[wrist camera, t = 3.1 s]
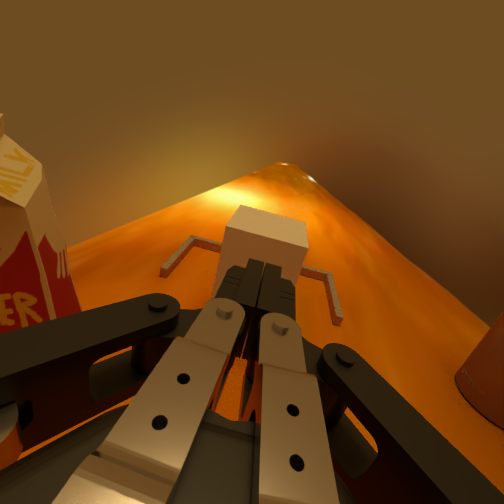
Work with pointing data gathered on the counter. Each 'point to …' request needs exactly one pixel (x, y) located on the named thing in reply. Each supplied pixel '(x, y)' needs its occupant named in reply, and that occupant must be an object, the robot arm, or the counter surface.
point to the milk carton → (30, 245)
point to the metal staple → (305, 271)
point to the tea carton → (262, 243)
